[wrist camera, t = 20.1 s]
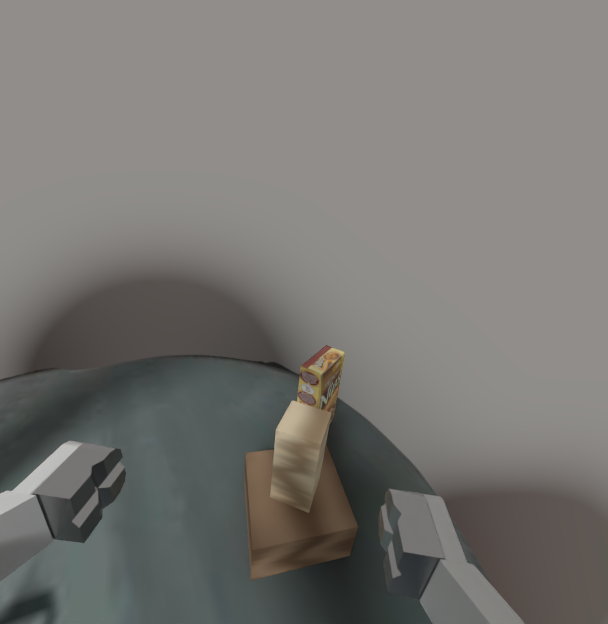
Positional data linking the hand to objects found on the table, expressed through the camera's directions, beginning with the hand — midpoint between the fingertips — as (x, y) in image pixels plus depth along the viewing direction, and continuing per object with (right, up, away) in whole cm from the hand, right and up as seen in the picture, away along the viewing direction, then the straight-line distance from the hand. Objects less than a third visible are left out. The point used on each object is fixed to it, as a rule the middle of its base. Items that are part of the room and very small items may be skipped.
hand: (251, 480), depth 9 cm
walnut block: (0, -23, +30) cm, 38 cm away
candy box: (+3, -17, +45) cm, 48 cm away
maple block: (+1, -17, +28) cm, 33 cm away
